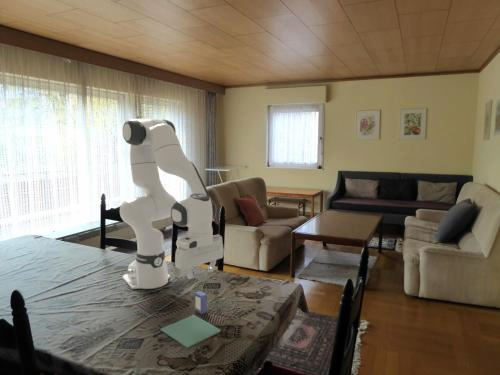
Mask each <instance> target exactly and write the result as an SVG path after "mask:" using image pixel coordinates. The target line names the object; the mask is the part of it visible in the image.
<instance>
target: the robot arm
mask: <svg viewBox="0 0 500 375" xmlns="http://www.w3.org/2000/svg"><path fill="white" fill-rule="evenodd" d="M176 133H177V131H176V127H175V125H174V123H173V121H170V120H167V119H159V118H131V119H127V120H126V121H125V122H124V124H123V126H122V137H123V139H124V141H125V143H127V144H129V145H130V149H129V160H130V162H129V163H130V170H131V178H132V182H133V184H134V185H135V186H136V187H137V188H140V189H141V190H143V191H144V193H145V196H139V197H138V196H137V197H132V198H129V199H126V200H124V201H122V203H121V205H120V207H119V215H120V218H121V220H122V221H123V222H124V223H126V224H128V225H129V226H130V227H131V228H132V229H133V231H134V233H135V236H136V244H137V251H135V252H134V254H135V260H134V261H132V262H131V263H130V264H129V265H128V267H127V268H128V269H126V270H127V271H126V272H127V273H125V274H123V275H122V279H123V281H124V282H125V283H126V284H127V285H128V286H129V287H130V289H132V290H136V289H144V290H145V289H147V290H149V289H157V288H160V287H163V286H165V285H167V284H168V282H169V279H171V275H170V274H169V272H168V271H169V270H168V263H167V260H166V259H165V258H166V252H165V250H164V248H165V247H164V245H165V244H164V234H163V232H161V230H159V229H157V228H154V227H153V222H156V221H159V220H164V219H168V218H170V219H171V221H172V222H173V224H175V225H176V226H178V227H187V228H188V229H187V233H186V234H185V235H184V236H182V237H180V238H178V239H177V240H176V242H175V245H176V246H177V248H176V249H175V254H174V255H175V256H174V265H175V268H177V269H178V270H182V271H184V272H185V273H186V274H187V275H186V276H187V277H186V278H187V279H188V280H192V279H194V278H195V277H194V275H195V274H194V273H192V272H191V271H192V268H195V267H197V266H201V265H204V264H207V263H209V266H208V267H207V271H208V273H213V272H214V268H215V266H216V264H217V260H220V259H223V258H224V254H225V253H224V251H225V249H224V244H223V236H222V235H220V234H218V233H217V234H214V235H213V232H214V231H213V226H212V222H213V221H214V219H215V218H216V215H217V212H218V211H217V210H218V208H217V205H216V202H215V201H214V200H213V198H212V197H211V195H210V194H209V191H208V189H207V187H206V185H205V183H204V181H203V180H202V177H201V175H200V173H199V171H198V168H197V167H196V166H195V164H194V162H192V161H190V160H189V159H188V157H187V156H186V154H185V153H184V151H183V148H182V146H181V143H180V140H179V138H178V135H177V134H176ZM159 169H160V170H161V171H163V172H164V173H166V174H169V175H174V176H176V177H178V178H181V179H183V180H184V181H185V182H187V184H188V186H189V188H190V190H191V192H192V194H190V195H189V196H188V198H186V199H183V200H179V201H177V200H176V198H175V197H174V196H173V195H171V194H170V193H169V192H168V191H167V190H166V188H165V187H164V186H163V184H162V181H161V179H160V178H161V177H160V173H159Z"/></svg>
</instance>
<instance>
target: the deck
mask: <svg viewBox="0 0 500 375" xmlns="http://www.w3.org/2000/svg"><path fill="white" fill-rule="evenodd" d="M207 298H208V296H207V293H205V292H203V291H201V290H198V291H196V292H194V311H195V312H196V313H198V314H200V315H202V314H205V313H207V312H208V310H207V309H208V308H207V307H208V303H207V302H208V300H207Z"/></svg>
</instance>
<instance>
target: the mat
mask: <svg viewBox="0 0 500 375" xmlns="http://www.w3.org/2000/svg"><path fill="white" fill-rule="evenodd" d="M159 330H160V331H161V332H163V333H164V334H166V335H167V336H168V337H170V338H172V339H173V340H175V341H176V342H178V343H179V344H180V345H181V346H183V347H185V348H186V349H189V348H191V347H193V346H195V345H197V344H198V343H201V342H203V341H205V340H206V339H209V338H211V337H213V336H215V335H217V334H219V333H220V332H222V330H221V329H220V328H218V327H217V326H215V325H213V324H211V323H210V322H208V321H206V320H204V319H202V318H200V317H198V316H197V315H195V314H192V315H189V316H187V317H184V318H182V319H180V320H178V321H176V322H174V323H171V324H169V325H166V326H164V327H162V328H160V329H159Z"/></svg>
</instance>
